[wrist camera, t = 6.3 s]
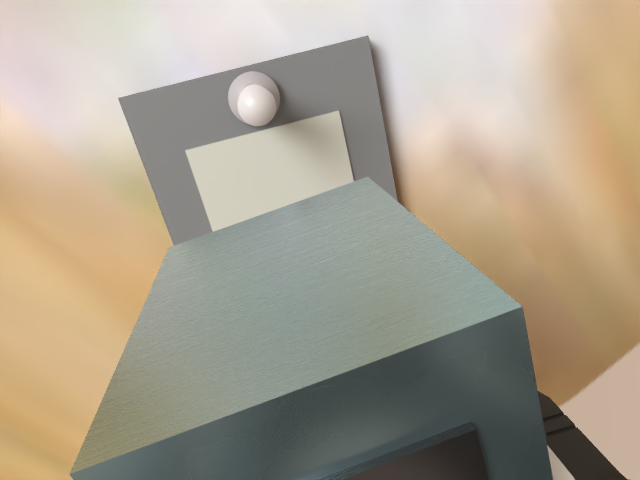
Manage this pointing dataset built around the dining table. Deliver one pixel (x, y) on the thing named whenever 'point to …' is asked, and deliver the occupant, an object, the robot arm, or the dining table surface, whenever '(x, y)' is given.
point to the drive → (322, 358)
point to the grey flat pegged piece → (261, 137)
